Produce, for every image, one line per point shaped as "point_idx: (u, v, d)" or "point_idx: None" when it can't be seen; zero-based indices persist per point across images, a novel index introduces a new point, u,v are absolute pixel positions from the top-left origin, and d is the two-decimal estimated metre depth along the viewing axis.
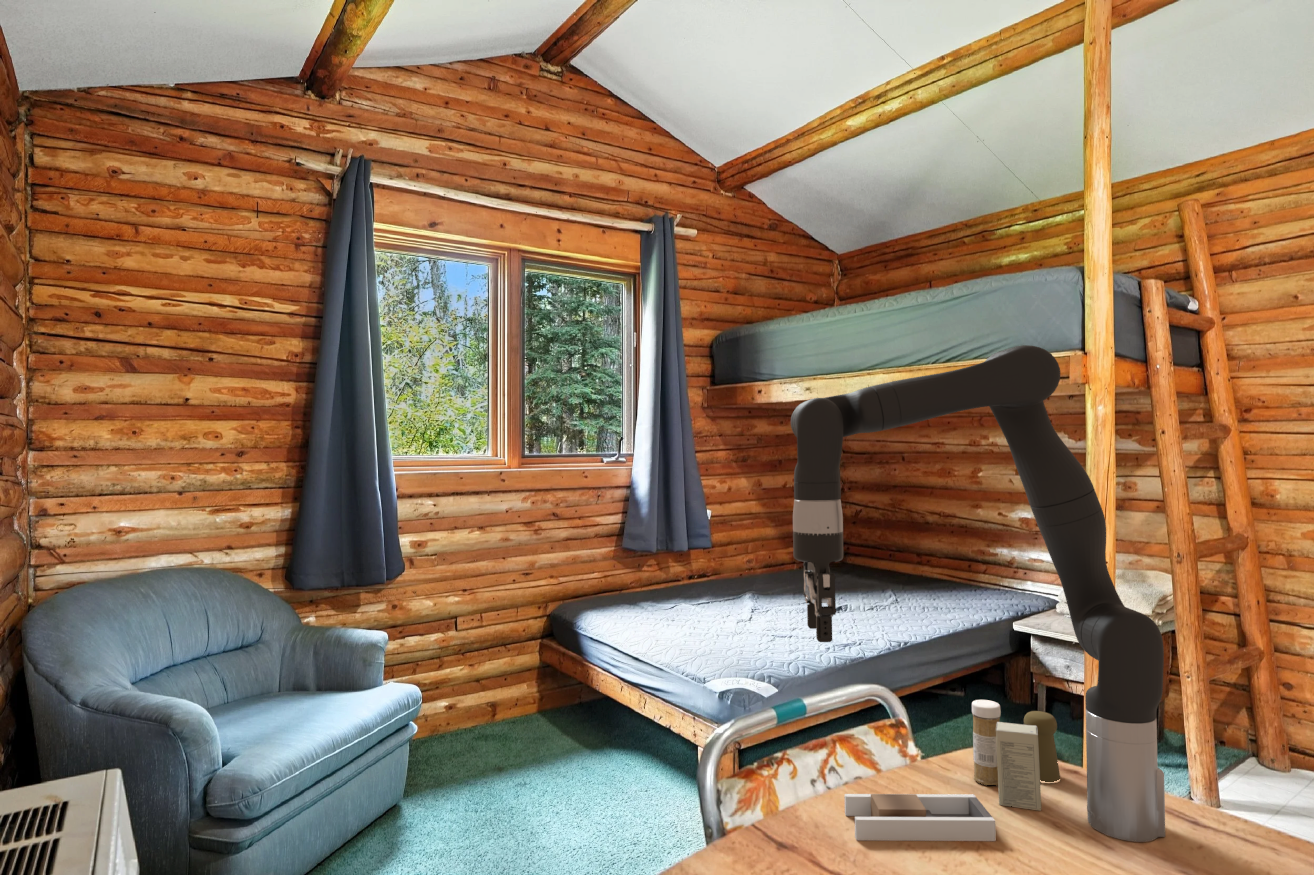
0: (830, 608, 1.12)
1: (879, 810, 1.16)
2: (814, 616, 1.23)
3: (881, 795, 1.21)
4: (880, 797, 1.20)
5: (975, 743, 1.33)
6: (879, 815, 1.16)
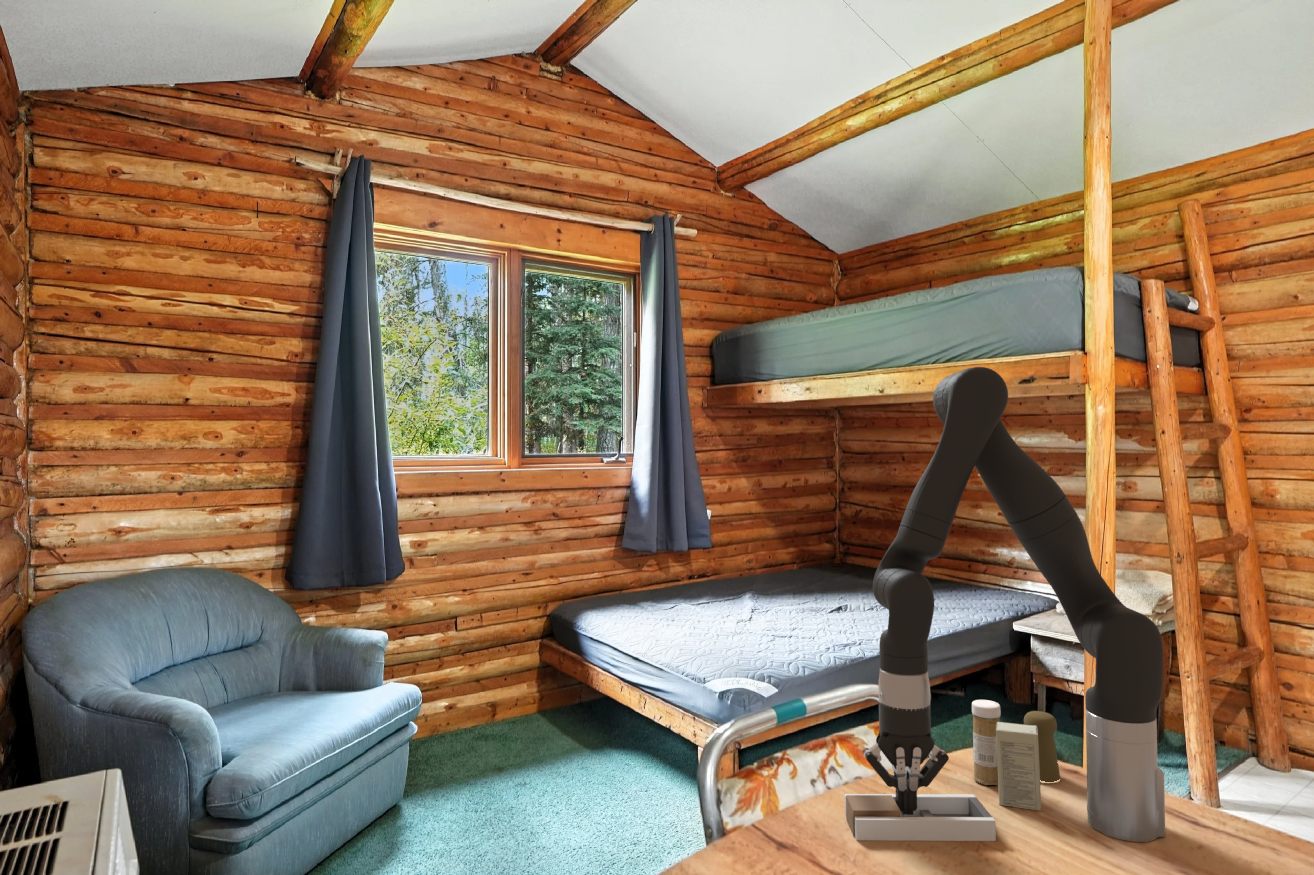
0: (925, 775, 1.19)
1: (853, 811, 1.16)
2: None
3: (856, 796, 1.20)
4: (855, 798, 1.20)
5: (975, 743, 1.33)
6: (853, 816, 1.16)
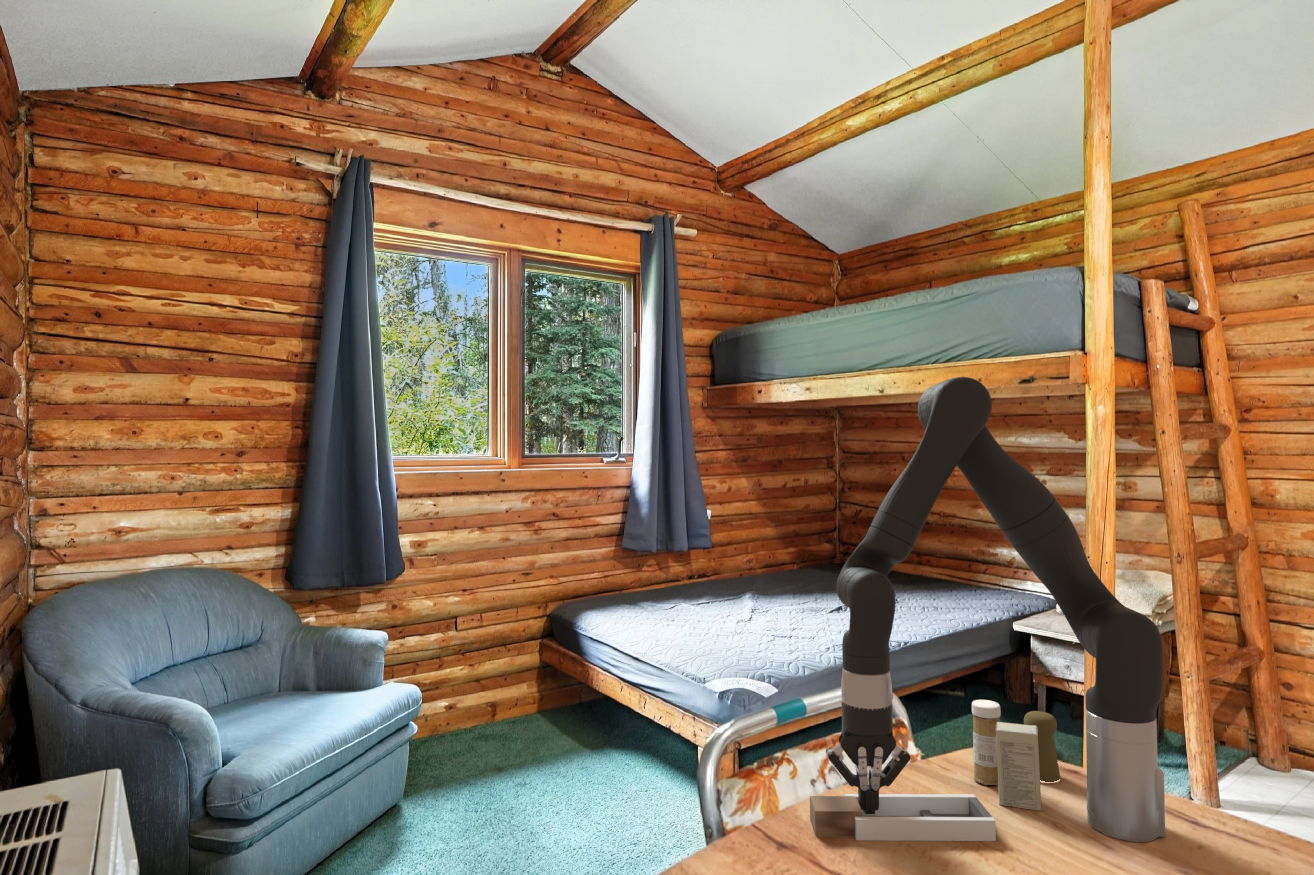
0: (887, 775, 1.19)
1: (815, 812, 1.16)
2: None
3: (820, 797, 1.21)
4: (818, 799, 1.20)
5: (975, 743, 1.33)
6: (815, 817, 1.16)
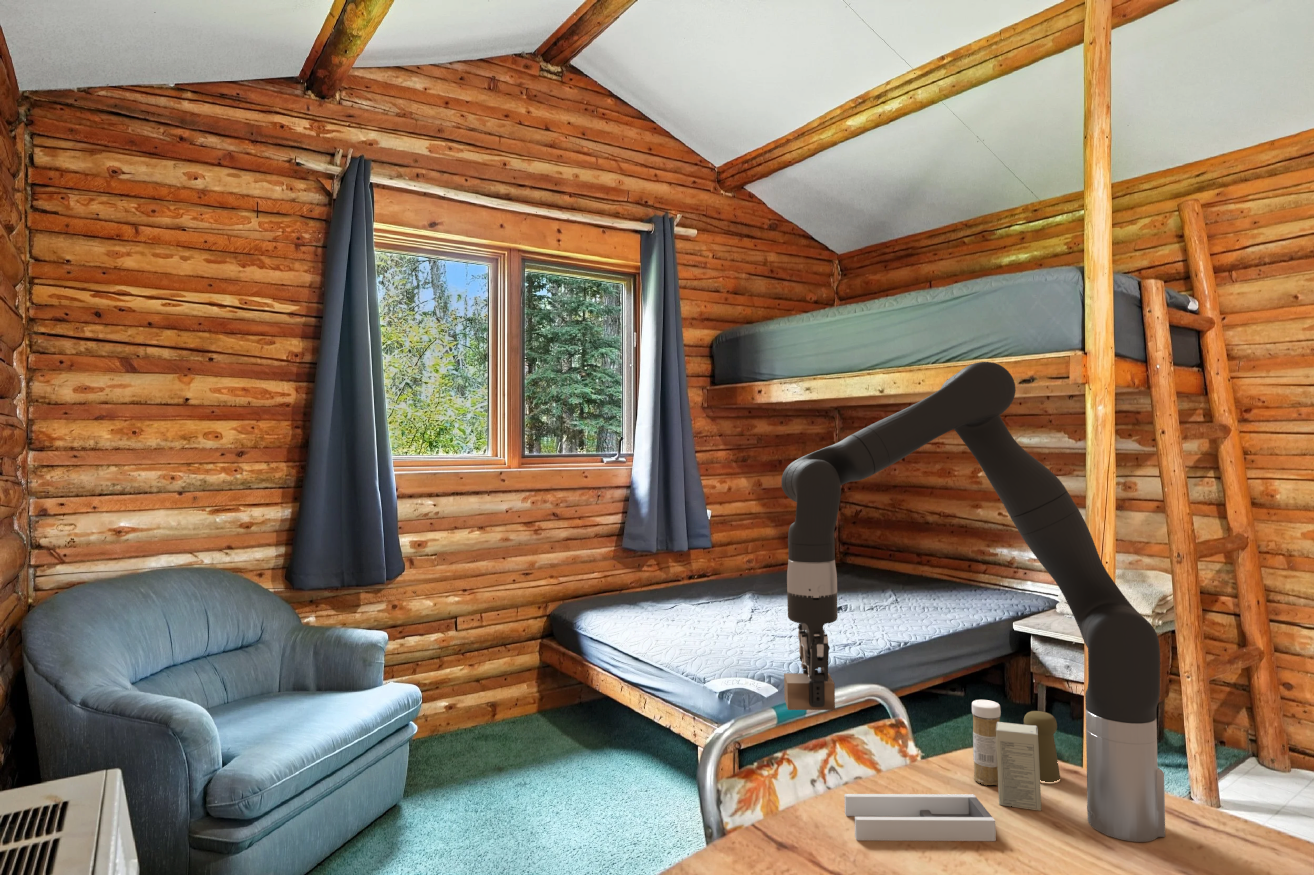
0: None
1: (788, 684, 1.17)
2: None
3: (794, 674, 1.22)
4: (792, 675, 1.21)
5: (975, 743, 1.33)
6: (788, 689, 1.17)
